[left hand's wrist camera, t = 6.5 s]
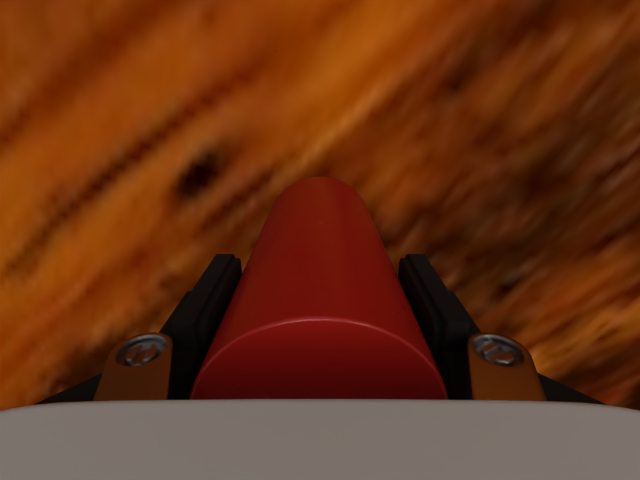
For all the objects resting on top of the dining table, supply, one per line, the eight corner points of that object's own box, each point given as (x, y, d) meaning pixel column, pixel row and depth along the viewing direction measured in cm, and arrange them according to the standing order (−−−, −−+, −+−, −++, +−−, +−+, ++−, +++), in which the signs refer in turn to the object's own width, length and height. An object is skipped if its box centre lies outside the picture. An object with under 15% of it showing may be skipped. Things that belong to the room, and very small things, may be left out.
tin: (388, 203, 18) (506, 380, 7) (341, 286, 19) (371, 536, 8) (293, 158, 17) (242, 272, 6) (253, 248, 19) (154, 471, 7)
